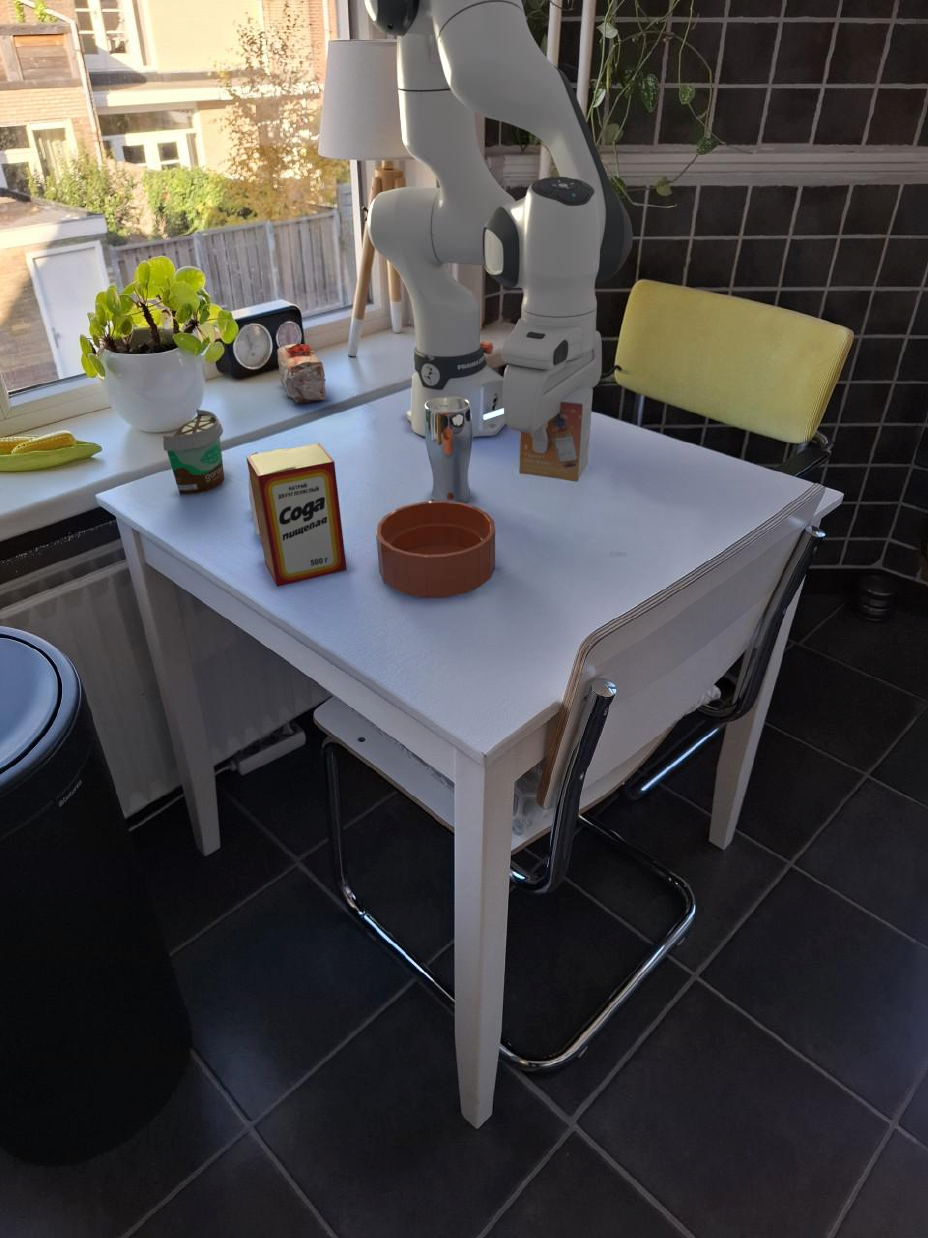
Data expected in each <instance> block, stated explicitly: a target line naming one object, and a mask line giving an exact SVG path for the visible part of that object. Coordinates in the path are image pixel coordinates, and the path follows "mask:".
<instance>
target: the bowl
mask: <svg viewBox="0 0 928 1238" xmlns="http://www.w3.org/2000/svg"><path fill="white" fill-rule="evenodd" d="M375 537H376V538H375V539H376V548H377V549H376V550H377V559H378V571H379V575H380V577H381V578H382V581H383V582H384V583H385V584H386V585H388V586H389V587H390V588H391V589H392V590H394V591H396V592H400V593H402V594H405V595H407V596H412V597H418V598H425V599H440V598H441V599H442V598H450V597H454V596H460V595H464V594H467V593H470V592H471V591H474V590H476V589H478V588H480V587H482V586H483V585H484V584H486V583H487V582H488V581H489V580H491V578H492V576H493V575H494V573H495V571H496V524H495V521H494V519H493V518H492V516H490V514H489V513H488V512H486V511H484V510H483V509H481V508H480V507H477V506H474V505H472V504H469V503H466V504H465V503H460V502H451V501H432V500H427V501H422V502H421V501H420V502H415V503H410V504H407V505H404V506H401V507H398V508H396V509H394V510H392V511H390V512H389V513H387V514H385V515H384V516H383V517H382V518H381V519H380V520H379V522H378V523H377V525H376V530H375Z"/></svg>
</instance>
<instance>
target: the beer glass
mask: <svg viewBox="0 0 928 1238" xmlns="http://www.w3.org/2000/svg"><path fill="white" fill-rule="evenodd" d="M472 431H473V430H472V416H471V407H470V402H469V401H468V400H467V399H465V398H462V397H456V396H443V397H437V398H433V399H431V400H429V401H427V402H426V403H425V439H424V440H425V446H426V451H427V455H428V459H429V463H430V468H431V473H432V491H431V497H430V499H431V501H451V502H460V503H465V504H469V502H470V501H471V499H472V495H471V489H470V484H469V466H470V460H471V454H472V448H473V437H472Z"/></svg>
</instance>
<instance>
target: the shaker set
mask: <svg viewBox="0 0 928 1238" xmlns="http://www.w3.org/2000/svg"><path fill="white" fill-rule="evenodd" d="M255 454H259V453H258V451H253V452H252V453H251V455H255ZM248 491H249V492H248V493H249V494H248V498H249V506H250V512H251V517H252V524H253V530H254V531H253V532H254V534H255V535H256V536H257V537H259V538H261V537H260V531H259V525H258V520H257V514H256V508H255V503H254V497H253V491H252V486H251V480H250V474H249V475H248Z"/></svg>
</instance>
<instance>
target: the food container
mask: <svg viewBox="0 0 928 1238" xmlns="http://www.w3.org/2000/svg"><path fill="white" fill-rule="evenodd" d="M223 433H224V428H223V426H222V424H221V421H220V419H219V418H218V417H217V415H216V414H215V413H213V412H211V411H209V410H204V409H196V416H194V418H193V419H192V420H190V421H189V422H186V423H184V424H182V425H181V426H180V427H179V428H178V429H177V430H176V432H175V433H174V434H173V435H168V436H167V435H162V439H163V441H162V444H163V450H164V451H165V452H167V455H168V459H169V462H170V466H171V469H172V473H173V476H174V479H175V483H176V486H177V489H178V493H179V495H196V494H201V493H205V492H209V491H211V490H214V489H216V488H218V487H219V486H221V485H222V484H223V483H224V481H225V472H224V464H223V455H222V454H223V453H222V445H221V436H222V435H223Z"/></svg>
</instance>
